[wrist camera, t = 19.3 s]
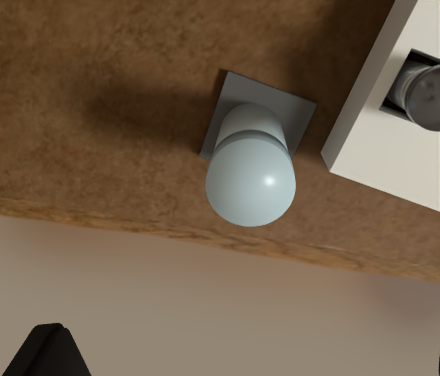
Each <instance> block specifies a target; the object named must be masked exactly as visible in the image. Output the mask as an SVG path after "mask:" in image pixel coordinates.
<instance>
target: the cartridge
mask: <svg viewBox="0 0 440 376" xmlns="http://www.w3.org/2000/svg"><path fill="white" fill-rule="evenodd" d="M205 184H206V194H207V197H208V200H209V202H210V204H211V206H212V207H213V209H214V210H215V211H216V212H217V213H218V214H219V215H220V216H221V217H223V218H224V219H225V220H227V221H229V222H231V223H234V224H237V225H241V226H260V225H264V224H267V223H270V222H272V221H274V220H276V219H277V218H279V217H280V216H281V215H282V214H283V213H284V212H285V211H286V210H287V209H288V208H289V206H290V204H291V203H292V200H293V198H294V194H295V188H296V183H295V175H294V169H293V165H292V161H291V158H290V155H289V152H288V149H287V146H286V142H285V138H284V134H283V130H282V126H281V123H280V121H279V119H278V117H277V116H276V114H275V113H274V112H273V111H272V110H271V109H269V108H268V107H266V106H264V105H261V104H257V103H246V104H242V105H239V106H237V107H235V108H233V109H232V110H231V111H230V112H229V113H228V114H227V115H226V116H225V118H224V119H223V122H222V124H221V127H220V131H219V134H218V138H217V142H216V145H215V149H214V151H213V154H212V156H211V159H210V163H209V166H208V170H207V177H206V183H205Z"/></svg>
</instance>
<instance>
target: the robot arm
mask: <svg viewBox="0 0 440 376" xmlns="http://www.w3.org/2000/svg"><path fill="white" fill-rule="evenodd" d="M439 375H440V358H439ZM2 376H91V374H90V372H89V370H88V368H87V366H86V364H85V362H84V360H83V358H82V356H81V354H80V351H79V349H78V348H77V345H76V343H75V341H74V339H73V337H72V335H71V333H70V331H69V330H68V329H67V328H64V327H63V326H62V324H60V323H52V324H42V325H37V326H35V327H34V328H33V330H32V331H31V332H30V334H29V335H28V337H27V339H26V340H25V342H24V343H23V345H22V346H21V348H20V349H19V351H18V352H17V354H16V355H15V357H14V358H13V360H12V361H11V363H10V364H9V366H8V367H7V369H6V371H5V372H4V373H3V375H2Z"/></svg>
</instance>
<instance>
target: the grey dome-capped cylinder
mask: <svg viewBox="0 0 440 376" xmlns="http://www.w3.org/2000/svg"><path fill="white" fill-rule="evenodd" d="M386 97H387V99H388V100H390V101H391V102H393V103H394V104H396V105H397V106H399V107H401V108H402V109H404V110H405V111H406V113H407V115H408V117H409V118H410V119H411V120H412V121H413V122H415V123H416V124H418V125H419V126H421V127H422V128H424V129H426V130H429V131H434V132H440V65H436V66H430V65H426V64H423V63H419V62H416V61H404V63H403V65H402V67H401V69H400V71H399V72H398V74H397V76H396V78H395V80H394V82H393V84H392V86H391V87H390V89H389V91H388V93H387V95H386Z"/></svg>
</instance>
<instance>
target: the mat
mask: <svg viewBox="0 0 440 376" xmlns="http://www.w3.org/2000/svg"><path fill="white" fill-rule="evenodd" d="M246 103H257V104H261V105H264V106H266V107H268V108H269V109H271V110H272V111H273V112H274V113H275V114H276V116H277V117H278V119H279V121H280V123H281V126H282V130H283V134H284V138H285V142H286V146H287V149H288V152H289V155H290V158H291V160H292V158H293V156H294V154H295V152H296V150H297V147H298V145H299V143H300V141H301V139H302V137H303V134H304V132H305V130H306V128H307V126H308V124H309V121H310V119H311V117H312V115H313V113H314V111H315V108H316V106H317V103H315V102H313V101H310V100H307V99H305V98H302V97H299V96H297V95H294V94H291V93H289V92H286V91H283V90H281V89H278V88H275V87H272V86H270V85H267V84H264V83H262V82H259V81H256V80H254V79H251V78H248V77H246V76H243V75H240V74H238V73H235V72H232V71H230V70H229V71H228V73H227V76H226V79H225V82H224V85H223V88H222V91H221V94H220V97H219V100H218V102H217V105H216V108H215V111H214V114H213V117H212V120H211V123H210V126H209V129H208V131H207V134H206V137H205V140H204V143H203V146H202V149H201V152H200V155H199V157H202V158H205V159H208V160H210V159H211V156H212V154H213V151H214V149H215V145H216V142H217V138H218V134H219V131H220V127H221V124H222V122H223V119H224V118H225V116H226V115H227V114H228V113H229V112H230V111H231V110H232V109H233V108H235V107H237V106H239V105H242V104H246Z"/></svg>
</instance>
